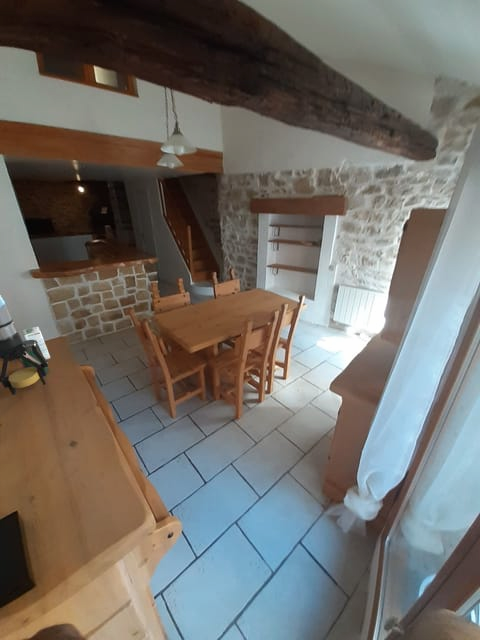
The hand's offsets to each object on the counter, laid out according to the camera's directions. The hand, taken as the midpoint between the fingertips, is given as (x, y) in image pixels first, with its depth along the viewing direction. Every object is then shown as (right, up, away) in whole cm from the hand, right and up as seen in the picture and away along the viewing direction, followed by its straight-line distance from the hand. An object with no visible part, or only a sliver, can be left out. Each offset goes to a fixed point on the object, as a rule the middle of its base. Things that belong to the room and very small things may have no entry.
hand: (29, 387), depth 94 cm
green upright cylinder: (-5, +3, +11) cm, 12 cm away
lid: (0, +5, -3) cm, 6 cm away
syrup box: (-11, +8, +20) cm, 25 cm away
